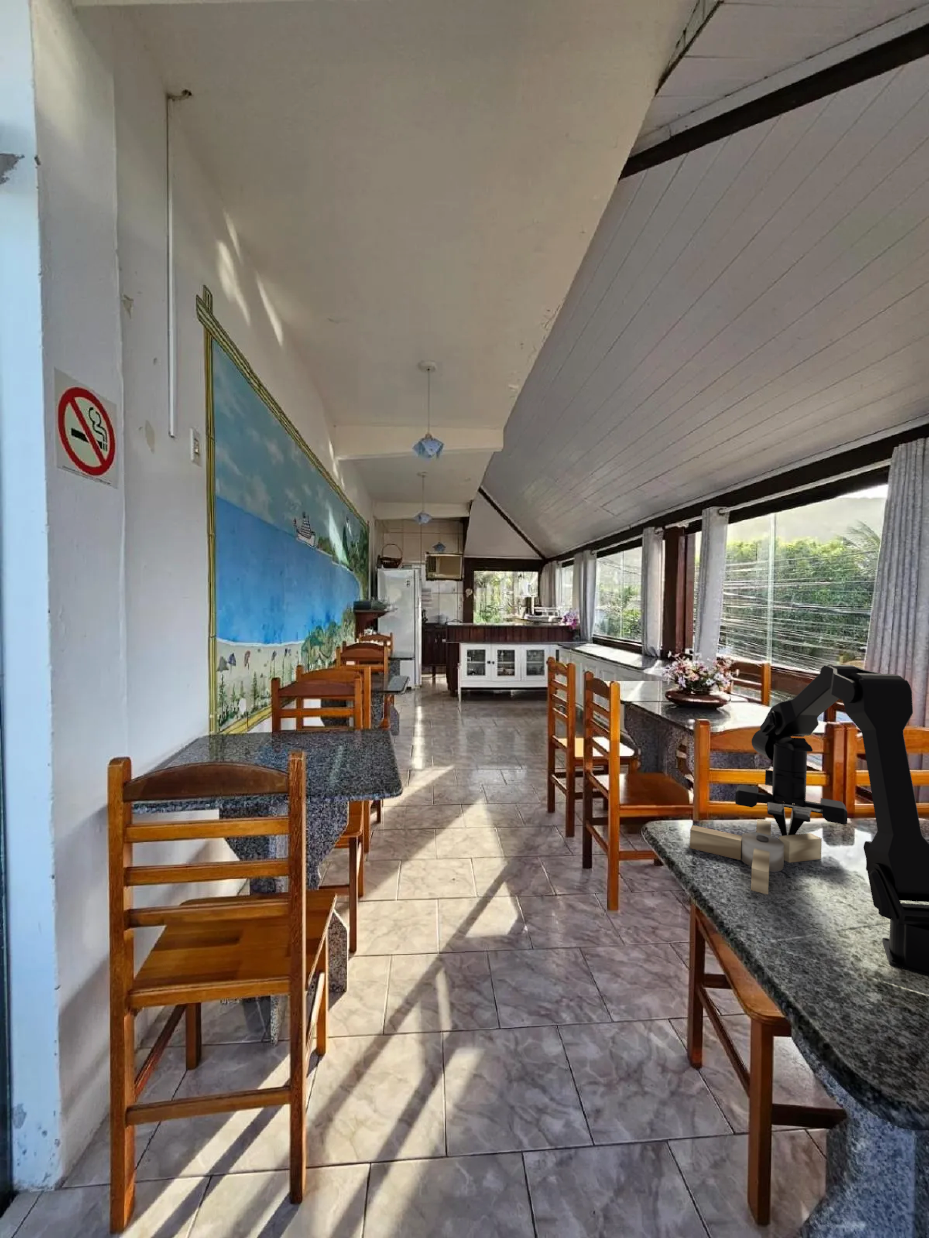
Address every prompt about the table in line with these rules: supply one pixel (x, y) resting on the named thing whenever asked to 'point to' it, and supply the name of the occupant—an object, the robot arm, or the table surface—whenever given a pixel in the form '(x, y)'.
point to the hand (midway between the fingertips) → (787, 845)
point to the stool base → (744, 850)
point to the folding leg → (801, 847)
